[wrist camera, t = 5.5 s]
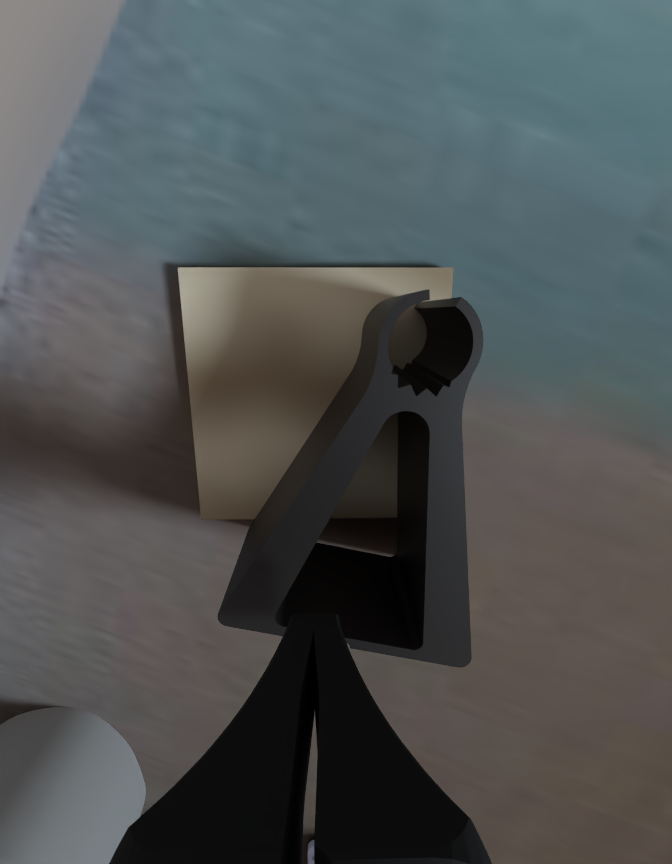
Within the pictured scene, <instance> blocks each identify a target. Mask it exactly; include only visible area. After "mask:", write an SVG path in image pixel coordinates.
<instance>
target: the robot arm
mask: <svg viewBox="0 0 672 864" xmlns="http://www.w3.org/2000/svg"><path fill="white" fill-rule="evenodd" d="M314 712H315V717H316V733H317V748H318V761H317V789H316V814H315V837H314V840H312V841H310V842H309V844H308V864H492V863H491V861H490V858H489V856H488V853H487V851H486V849H485V847H484V845H483V842H482V840H481V838H480V836H479V834H478V832H477V830H476V828H475V826H474V824H473V822H472V820H471V819H470V818H469V817H468V816H467V815H466V814H465V813H464V812H463V811H462V810H461V809H460V808H459V807H458V806H457V805H456V804H455V803H454V802H453V801H452V800H451V799H450V798H449V797H448V796H447V795H446V794H445V793H444V792H443V791H442V789H441V788H440V787H439V786H438V785H437V784H436V783H435V782H434V781H433V779H432V778H431V777H430V776H429V775H428V774H427V773H426V772H425V770H424V769H423V768H422V767H421V766H420V764H419V763H418V762H417V760H416V759H415V758H414V757H413V755H412V754H411V753H410V752H409V750H408V749H407V748H406V747H405V745H404V744H403V743H402V742H401V740H400V739H399V737H398V736H397V735H396V733H395V732H394V730H393V729H392V727H391V726H390V725H389V723H388V722H387V720H386V719H385V717H384V715H383V714H382V712H381V711H380V709H379V708H378V706H377V704H376V703H375V701H374V699H373V698H372V696H371V694H370V692H369V690H368V689H367V687H366V685H365V683H364V681H363V679H362V677H361V675H360V673H359V671H358V669H357V667H356V665H355V662H354V660H353V658H352V656H351V653H350V651H349V649H348V646H347V643H346V641H345V638H344V635H343V632H342V628H341V624H340V619H339V616H338V615H337V614H336V613H323V614H293V615H292V616H291V617H290V620H289V623H288V626H287V628H286V631H285V633H284V635H283V638H282V640H281V642H280V644H279V646H278V648H277V650H276V652H275V654H274V656H273V658H272V659H271V661H270V663H269V665H268V667H267V669H266V670H265V672H264V674H263V675H262V677H261V679H260V680H259V682H258V683H257V685H256V687H255V688H254V690H253V691H252V693H251V695H250V696H249V698H248V699H247V701H246V702H245V703H244V705H243V706H242V708H241V709H240V711H239V712H238V713H237V715H236V716H235V717H234V719H233V720H232V721H231V723H230V724H229V725H228V726H227V728H226V729H225V730H224V731H223V733H222V734H221V735H220V736H219V737H218V739H217V740H216V741H215V742H214V744H213V745H212V746H211V747H210V748H209V749H208V751H207V752H206V753H205V754H204V755H203V756H202V757H201V758H200V759H199V760H198V762H197V763H196V764H195V765H194V766H193V767H192V768H191V769H190V770H189V771H188V772H187V773H186V774H185V775H184V776H183V777H182V778H181V779H180V780H179V781H178V782H177V783H176V784H175V785H174V786H173V787H172V788H171V789H170V790H169V791H168V792H167V793H166V794H165V795H164V796H163V797H162V798H161V799H160V800H158V801H157V802H156V803H155V804H154V805H153V806H152V807H151V808H150V809H148V810H147V811H146V812H145V813H144V814H143V815H142V816H141V817H140V818H138V819H137V820H136V821H135V822H134V823H133V824H132V825H130V826H129V827H128V829H127V831H126V832H125V834H124V836H123V838H122V840H121V841H120V843H119V845H118V847H117V849H116V851H115V853H114V855H113V857H112V859H111V861H110V863H109V864H302V839H303V814H304V802H305V791H306V782H307V773H308V765H309V756H310V747H311V738H312V729H313V721H314Z"/></svg>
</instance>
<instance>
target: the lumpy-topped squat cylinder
mask: <svg viewBox="0 0 672 864" xmlns="http://www.w3.org/2000/svg"><path fill="white" fill-rule="evenodd" d="M145 796H146V788H145V783H144V779H143V776H142V773H141V770H140V767H139V764H138V762H137V759H136V757H135V755H134V753H133V751H132V749H131V748H130V746H129V745H128V743H127V742H126V741H125V740H124V739H123V738H122V736H121V735H120V734H119V733H118V732H117V731H116V730H115V729H114V728H113V727H112V726H110V725H109V724H108V723H107V722H105V721H104V720H103V719H101V718H99V717H98V716H96V715H94V714H92V713H89V712H86V711H83V710H80V709H76V708H70V707H49V708H43V709H38V710H33V711H29V712H26V713H22V714H19V715H17V716H15V717H12V718H11V719H9V720H7V721H5V722H4V723H2V724H1V725H0V864H109V863H110V861H111V859H112V857H113V855H114V853H115V851H116V849H117V847H118V845H119V843H120V841H121V840H122V838H123V836H124V834H125V832H126V831H127V829H128V827H129V826H130V825H132V824H133V823H134V822H135V821H136V820H137V819H138V818H140V815H141V812H142V809H143V805H144V801H145Z"/></svg>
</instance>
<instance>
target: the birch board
mask: <svg viewBox="0 0 672 864" xmlns="http://www.w3.org/2000/svg"><path fill="white" fill-rule="evenodd" d="M178 277H179V288H180V298H181V309H182V320H183V330H184V341H185V352H186V363H187V373H188V384H189V395H190V406H191V416H192V427H193V438H194V448H195V459H196V470H197V481H198V491H199V502H200V513H201V520H220V519H255V518H256V517H257V515H258V514H259V512H260V511H261V509H262V507H263V506H264V504H265V503H266V501H267V500H268V498H269V497H270V495H271V494H272V492H273V491H274V489H275V488H276V486H277V484H278V483H279V481H280V480H281V478H282V477H283V475H284V474H285V472H286V471H287V469H288V468H289V466H290V465H291V463H292V462H293V460H294V458H295V457H296V455H297V454H298V452H299V451H300V449H301V448H302V446H303V445H304V443H305V442H306V440H307V439H308V437H309V435H310V434H311V432H312V431H313V429H314V428H315V426H316V425H317V423H318V422H319V420H320V419H321V417H322V416H323V414H324V413H325V411H326V409H327V408H328V406H329V405H330V403H331V402H332V400H333V399H334V397H335V396H336V394H337V393H338V391H339V390H340V388H341V386H342V385H343V383H344V382H345V380H346V379H347V377H348V376H349V374H350V373H351V371H352V369H353V367H354V365H355V363H356V361H357V358H358V355H359V351H360V347H361V340H362V329H363V325H364V322H365V319H366V317H367V315H368V314H369V312H370V311H371V310H372V309H373V308H374V307H375V306H376V305H377V304H378V303H380V302H382V301H384V300H386V299H388V298H392V297H396V296H401V295H405V294H409V293H414V292H418V291H422V290H428V289H430V300H427V301H433V300H441V299H450V298H451V297H452V282H453V268H282V267H178ZM422 302H424V301H422ZM415 306H416V304H414V305H413V306H411V307H409V308H408V309H407V310H405V311H404V312H403V313H402V314H401V315H400V316H399V317H398V319H397V320H396V322H395V323H394V325H393V327H392V330H391V332H390V336H389V341H388V354H389V359H390V362H391V364H392V367H393V366H395V365H397V366H398V367H399V368H401V369H402V370H403V369H404V367H405V365H406V364H407V363H409V364H411V363H412V360H413V359H414V358H415V357H416V356H418V354H419V353H420V352H421V351H422V349H423V347H424V345H425V342H426V337H427V329H426V324H425V321H424V319H423V317H422V316H421V314H420V313H419V312H418V311H417V310H415V309H414V308H415ZM397 471H398V413H395V414H393V415H392V416H390V417H389V418H388V419H387V420H386V421H385V423H384V424H383V426H382V428H381V430H380V431H379V433H378V435H377V437H376V438H375V440H374V442H373V444H372V445H371V447H370V449H369V451H368V452H367V454H366V456H365V458H364V459H363V461H362V463H361V465H360V466H359V468H358V470H357V472H356V473H355V475H354V477H353V479H352V480H351V482H350V484H349V486H348V488H347V489H346V491H345V493H344V495H343V496H342V498H341V500H340V502H339V503H338V505H337V507H336V509H335V510H334V512H333V514H332V516H331V517H330V518H397Z"/></svg>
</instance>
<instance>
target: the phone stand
mask: <svg viewBox="0 0 672 864" xmlns="http://www.w3.org/2000/svg"><path fill="white" fill-rule="evenodd" d="M427 300H430V289H428V290H422V291H418V292H414V293H409V294H405V295H401V296H396V297H392V298H388V299H386V300H384V301H382V302H380V303H378V304H377V305H376V306H375V307H374V308H373V309H372V310H371V311H370V312H369V314H368V315H367V317H366V319H365V322H364V325H363V329H362V340H361V347H360V351H359V355H358V358H357V361H356V363H355V365H354V367H353V369H352V371H351V373H350V374H349V376H348V377H347V379H346V380H345V382H344V383H343V385H342V386H341V388H340V390H339V391H338V393H337V394H336V396H335V397H334V399H333V400H332V402H331V403H330V405H329V406H328V408H327V409H326V411H325V413H324V414H323V416H322V417H321V419H320V420H319V422H318V423H317V425H316V426H315V428H314V429H313V431H312V432H311V434H310V435H309V437H308V439H307V440H306V442H305V443H304V445H303V446H302V448H301V449H300V451H299V452H298V454H297V455H296V457H295V458H294V460H293V462H292V463H291V465H290V466H289V468H288V469H287V471H286V472H285V474H284V475H283V477H282V478H281V480H280V481H279V483H278V484H277V486H276V488H275V489H274V491H273V492H272V494H271V495H270V497H269V498H268V500H267V501H266V503H265V504H264V506H263V507H262V509H261V511H260V512H259V514H258V515H257V517H256V518H255V520H254V521H253V523H252V524H251V526H250V527H249V530H248V533H247V535H246V538H245V541H244V544H243V546H242V549H241V552H240V555H239V558H238V560H237V563H236V566H235V569H234V571H233V574H232V577H231V580H230V583H229V585H228V588H227V591H226V594H225V596H224V599H223V602H222V605H221V607H220V610H219V613H218V620H219V622H220V623H221V624H223V625H225V626H229V627H234V628H240V629H246V630H251V631H257V632H262V633H268V634H274V635H279V636H283V635H284V633H285V631H286V628H287V626H288V623H289V620H290V617H291V616H292V615H293V614H323V613H336V614H337V615H338V616H339V619H340V624H341V628H342V632H343V635H344V638H345V641H346V643H348V644H349V645H350V648H352V649H358V650H364V651H369V652H375V653H380V654H386V655H392V656H397V657H403V658H409V659H414V660H420V661H425V662H431V663H437V664H442V665H448V666H454V667H464V666H466V665H468V664H469V663H470V661H471V635H470V611H469V587H468V563H467V539H466V515H465V490H464V466H463V442H462V408H463V402H464V397H465V393H466V390H467V387H468V384H469V381H470V379H471V377H472V375H473V373H474V371H475V369H476V367H477V365H478V363H479V360H480V357H481V353H482V349H483V331H482V326H481V323H480V320H479V318H478V316H477V314H476V312H475V310H474V309H473V308H472V306H471V305H470V304H469V303H468V302H467V301H466V300H464V299H463V298H462V297H459V298H450V299H441V300H433V301H427ZM422 301H424V302H422ZM414 304H416V306H415V308H414V309H415V310H417V311H418V312H419V313H420V314H421V316H422V317H423V319H424V321H425V324H426V329H427V337H426V342H425V345H424V347H423V349H422V351H421V352H420V353H419V354H418V356H416V357H415V358H414V359H413V360H412V363H411V364H409V363H407V364H406V365H405V367H404V369H403V370H402V369H401V368H399V367H398V366H397V365H395V366H393V367H392V364H391V362H390V359H389V354H388V341H389V336H390V332H391V330H392V327H393V325H394V323H395V322H396V320H397V319H398V317H399V316H400V315H401V314H402V313H403V312H404V311H405V310H407V309H408V308H409V307H411V306H413V305H414ZM395 413H398V471H397V552H396V554H395V555H394V556H393V557H387V556H382V555H376V554H371V553H366V552H361V551H356V550H351V549H346V548H341V547H336V546H331V545H326V544H321V543H316V542H317V540H318V538H319V537H320V535H321V533H322V531H323V530H324V528H325V526H326V524H327V523H328V521H329V519H330V517H331V516H332V514H333V512H334V510H335V509H336V507H337V505H338V503H339V502H340V500H341V498H342V496H343V495H344V493H345V491H346V489H347V488H348V486H349V484H350V482H351V480H352V479H353V477H354V475H355V473H356V472H357V470H358V468H359V466H360V465H361V463H362V461H363V459H364V458H365V456H366V454H367V452H368V451H369V449H370V447H371V445H372V444H373V442H374V440H375V438H376V437H377V435H378V433H379V431H380V430H381V428H382V426H383V424H384V423H385V421H386V420H387V419H388V418H389V417H390V416H392V415H393V414H395Z"/></svg>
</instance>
